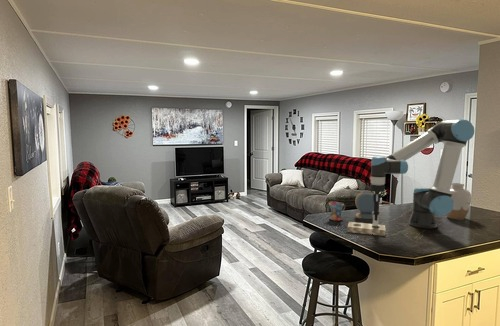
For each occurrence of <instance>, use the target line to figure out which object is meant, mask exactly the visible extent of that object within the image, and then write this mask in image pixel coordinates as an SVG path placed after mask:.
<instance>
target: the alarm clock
mask: <svg viewBox="0 0 500 326" xmlns="http://www.w3.org/2000/svg"><path fill="white" fill-rule="evenodd" d="M373 194H374V192H372V191H371V190H365V189H364V190H362V191H361V192H360V193H358V194H357V195H356V197H355V198H354V199H355V200H354V203H355V206H356V209H357V210H358V211H359V212H357V213H355V216H356V218H357V219H367V220H369V219H370V220H373V212H374V197H373Z"/></svg>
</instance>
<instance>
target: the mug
mask: <svg viewBox="0 0 500 326" xmlns="http://www.w3.org/2000/svg"><path fill="white" fill-rule="evenodd" d="M328 205H329V208H330V215H329V217H328V219H330V220H331V221H336V222H339V221H343V214H342V213H343V212H344V211H345V209H346V205H345V204H344V202H341V201H340V202H339V201H331V202H329V203H328Z"/></svg>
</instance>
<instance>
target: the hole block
mask: <svg viewBox="0 0 500 326" xmlns="http://www.w3.org/2000/svg"><path fill="white" fill-rule="evenodd" d="M372 226H373V223H365V222H355V221H348V224H347V233H354V234H355V233H356V234H365V235H372V234H373V235H374V236H384V237H386V225H385V224H378V228H372Z"/></svg>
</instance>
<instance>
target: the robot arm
mask: <svg viewBox="0 0 500 326" xmlns="http://www.w3.org/2000/svg"><path fill="white" fill-rule="evenodd" d="M474 135H475V127H474V125H473V123H472V122H471V121H469V120H467V119H461V118H460V119H459V118H457V119H446V120H442V121H440V122H438V123H436V124H435V125H433V126H432V127H430V128H429V129H427V130H426V131H425V133H424V134H422V135H420V136H419V137H418V138H415V139H413V140H412V141H411V142H409V143H407V144H406V145H404V146H402V147H401V148H400V149H398V150H396V151H394V152H393V153H391V154H389V155H388V156H386V157H385V156H373V157H371V162H370V163H371V164H370V177H369V180H370V185H369V187H370V188H369V191H371V192H373V197H374V211H373V212H374V213H373V212H372V214H373V215H374V216H373V219H372V224H373V226H378V225H379V220H380V219H379V217H380V212H381V211H380V203H381V199H382V196H381V195H382V194H380V193H383V192H385V189H386V185H385V184H386V175H387V174H389V175H391V174H392V175H394V174H395V175H401V174H402V175H405V174H407V172H408V171H409V164H408V162H407V160H409V159H411V158H412V157H413V156H416V155H418V154H419V153H420V152H422V151H423V150H425V149H427V148H429V147H431V146H432V145H434V144H438V143H440V142H442V143H443V148H442V152H441V156H440V159H439V164H438V167H437V171H436V174H435V179H434V182H433V185H432V186H430V187H416V188H414V189H413V198H412V213H411V215H410V217H409V219H408V224H409V225H410V226H412V227H415V228H419V229H436V228H437V227H438V226H437V219H436V216H447V215H446V214H448V213H450V212H451V211H452V209H453V206H454V202H453V200H452V199H451V197H452V192H451V191H450V189H451V188H452V183H453V182H454V181H453V180H454V177H455V174H456V170H457V166H458V163H459V159H460V156H461V152H462V149H463V148H465V147H466V146H467V142H468V141H470V140H471V139H473V137H474ZM435 215H436V216H435Z"/></svg>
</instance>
